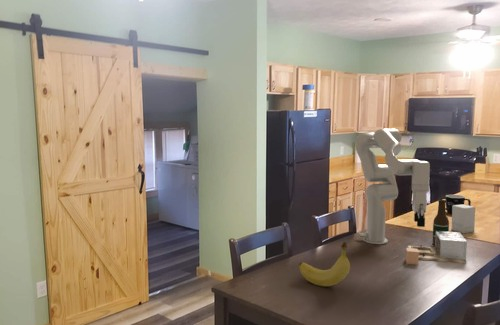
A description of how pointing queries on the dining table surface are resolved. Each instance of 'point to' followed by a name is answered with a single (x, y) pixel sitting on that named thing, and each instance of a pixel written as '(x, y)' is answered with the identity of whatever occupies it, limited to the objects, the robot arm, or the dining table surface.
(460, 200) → the mug
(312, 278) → the banana
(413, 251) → the jaw block
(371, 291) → the dining table surface
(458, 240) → the cover
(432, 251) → the housing base
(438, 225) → the beer bottle
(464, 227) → the supplement box
